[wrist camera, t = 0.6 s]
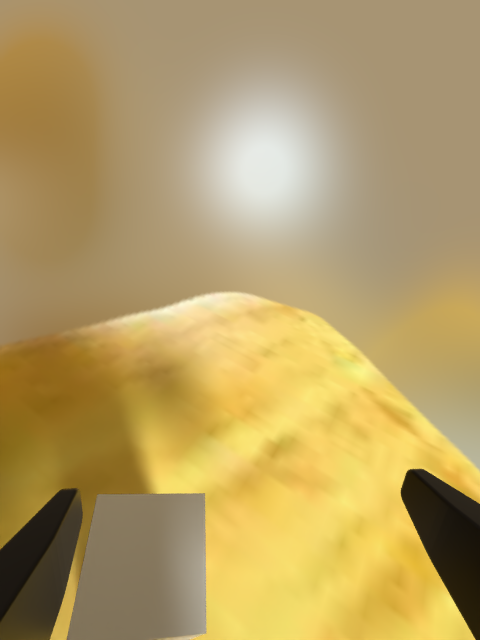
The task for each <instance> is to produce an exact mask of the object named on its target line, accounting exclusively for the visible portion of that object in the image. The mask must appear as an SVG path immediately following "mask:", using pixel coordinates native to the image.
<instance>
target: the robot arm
mask: <svg viewBox="0 0 480 640" xmlns="http://www.w3.org/2000/svg"><path fill="white" fill-rule="evenodd" d="M401 497H402V500H403V502H404V505H405V507H406V509H407V511H408V513H409V515H410V517H411V520H412V522H413V524H414V526H415V528H416V530H417V533H418V535H419V537H420V539H421V541H422V543H423V546H424V548H425V550H426V552H427V554H428V556H429V558H430V559H431V561H432V563H433V565H434V567H435V569H436V570H437V572H438V574H439V576H440V577H441V579H442V581H443V583H444V585H445V586H446V588H447V590H448V592H449V593H450V595H451V597H452V599H453V601H454V602H455V604H456V606H457V608H458V609H459V611H460V613H461V615H462V616H463V618H464V620H465V622H466V624H467V625H468V627H469V629H470V631H471V632H472V634H473V636H474V638H475V639H476V640H480V504H479V503H477V502H476V501H474V500H473V499H471V498H469V497H468V496H466V495H464V494H463V493H461V492H460V491H458V490H456V489H455V488H453V487H451V486H450V485H448V484H447V483H445V482H443V481H442V480H440V479H438V478H437V477H435V476H434V475H432V474H430V473H429V472H427V471H425V470H423V469H410V470H408V471H407V473H406V476H405V479H404V482H403V485H402V488H401ZM82 515H83V512H82V503H81V494H80V490H79V489H78V488H71V489H62V490H60V491H59V492H58V493H57V494H56V495H55V496H54V497H53V498H52V499H51V500H50V501H49V502H48V503H47V504H46V505H45V506H44V507H43V508H42V509H41V510H40V511H39V512H38V513H37V514H36V515H35V516H34V517H33V518H32V519H31V520H30V521H29V522H28V523H27V524H26V525H25V526H24V527H23V528H22V529H21V530H20V531H19V532H18V533H17V534H16V535H15V536H14V537H13V538H12V539H11V540H10V541H9V542H8V543H7V544H6V545H5V546H4V547H3V548H2V549H1V550H0V640H50V637H51V634H52V631H53V628H54V625H55V622H56V619H57V616H58V613H59V610H60V607H61V604H62V601H63V597H64V594H65V590H66V586H67V582H68V578H69V574H70V569H71V565H72V561H73V557H74V553H75V548H76V544H77V540H78V536H79V531H80V527H81V523H82Z"/></svg>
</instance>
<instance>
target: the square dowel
mask: <svg viewBox="0 0 480 640" xmlns="http://www.w3.org/2000/svg"><path fill="white" fill-rule="evenodd" d="M203 634H206V553H205V493H203V494H97V499H96V503H95V508H94V513H93V518H92V522H91V527H90V532H89V537H88V541H87V546H86V551H85V556H84V560H83V565H82V570H81V574H80V579H79V584H78V589H77V593H76V598H75V603H74V608H73V612H72V617H71V622H70V627H69V631H68V636H67V640H190V639H193V638H195V637H198V636H200V635H203Z"/></svg>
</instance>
